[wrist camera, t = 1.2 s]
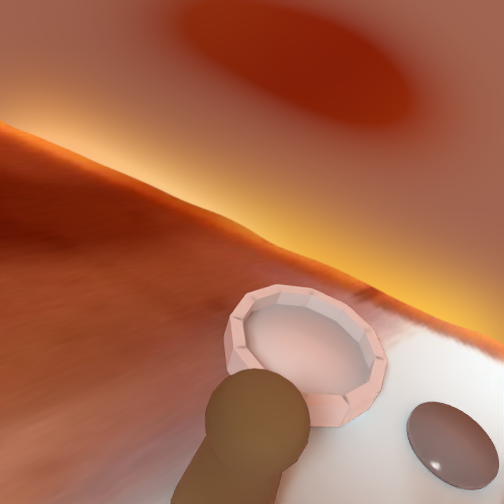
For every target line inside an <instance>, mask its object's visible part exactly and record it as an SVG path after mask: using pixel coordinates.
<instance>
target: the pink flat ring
mask: <svg viewBox="0 0 504 504" xmlns="http://www.w3.org/2000/svg"><path fill="white" fill-rule="evenodd" d="M224 348H225V358H226V368H227V371H228V372H229V374H230V375H232V374H234V373H236V372H239V371H241V370H246V369H252V368H257V369H266V370H270V371H272V372H275V373H278V374H280V375H282V376H283V377H285V378H286V379H288V380H289V381H291V382H292V383H293V384H294V385H295V387H296V388H297V389H298V390H299V391H300V392H301V394H302V396H303V398H304V400H305V402H306V404H307V406H308V409H309V415H310V420H311V425H310V427H335V428H339V427H341V426H342V425H344V424H346V423H347V422H349V421H351V420H352V419H354V418H355V417H357V416H359V415H360V414H362V413H363V412H365V411H367V410H368V409H369V407H370V406H371V404H372V403H373V401H374V399H375V398H376V396H377V394H378V393H379V391H380V390H381V386H382V382H383V378H384V373H385V369H386V365H387V358H386V356H385V353H384V351H383V349H382V347H381V344H380V342H379V340H378V337H377V335H376V333H375V331H374V329H373V328H372V327H371V326H370V325H369V324H367V323H366V322H365V321H364V320H363V319H362V318H361V317H360V316H359V315H358V314H357V313H356V312H354V311H353V310H352V309H351V308H350V307H349V306H348V305H346V304H345V303H343V302H341V301H339V300H336V299H334V298H332V297H330V296H328V295H325V294H323V293H321V292H319V291H317V290H315V289H311V288H306V287H297V286H288V285H279V284H277V285H276V284H275V285H272V286H269V287H266V288H262V289H259V290H256V291H253V292H250V293H247V294H246V295H245V296H244V298H243V299H242V300H241V302H240V303H239V304H238V306H237V307H236V308H235V310H234V311H233V312H232V314H231V315H230V318H229V321H228V324H227V328H226V331H225V334H224Z"/></svg>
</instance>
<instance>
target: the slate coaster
mask: <svg viewBox="0 0 504 504" xmlns="http://www.w3.org/2000/svg"><path fill="white" fill-rule="evenodd" d="M407 435H408V439H409V442H410V445H411V447H412V449H413V451H414V452H415V454H416V456H417V457H418V458H419V460H420V461H421V462H422V463H423V464H424V466H425V467H426V468H427V469H429V470H430V471H431V472H432V473H433V474H434V475H436V476H437V477H438V478H440V479H441V480H443V481H445V482H446V483H448V484H450V485H453V486H455V487H458V488H462V489H467V490H477V489H481V488H483V487H486V486H487V485H488V484H489V483H490V482H491V481H492V480H493V479H494V478H495V477H496V475H497V473H498V469H499V459H498V454H497V451H496V449H495V446H494V444H493V442H492V441H491V439H490V438H489V436H488V435H487V433H486V432H485V431H484V430H483V429H482V427H481V426H480V425H479V424H478V423H477V422H476V421H474V420H473V419H472V418H471V417H469V416H468V415H467V414H465V413H464V412H462V411H460V410H459V409H457V408H455V407H452V406H450V405H447V404H443V403H438V402H427V403H423V404H421V405H419V406H418V407H416V408H415V409H414V411H413V412H412V413H411V415H410V416H409V418H408V421H407Z"/></svg>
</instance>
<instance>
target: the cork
mask: <svg viewBox="0 0 504 504" xmlns="http://www.w3.org/2000/svg"><path fill="white" fill-rule="evenodd" d="M310 425H311V420H310V415H309V409H308V406H307V404H306V402H305V400H304V398H303V396H302V394H301V392H300V391H299V390H298V389H297V388H296V387H295V385H294V384H293V383H292V382H291V381H289V380H288V379H286V378H285V377H283V376H282V375H280V374H278V373H275V372H272V371H270V370H266V369H257V368H252V369H246V370H241V371H239V372H236V373H234V374H232V375H230V376H228V377H226V378H225V379H224V380H223V381H222V382H221V383H220V384H219V385H218V386H217V388H216V389H215V390H214V391H213V393H212V395H211V398H210V400H209V403H208V405H207V409H206V413H205V429H206V437H205V438H204V440H203V442H202V444H201V445H200V447H199V449H198V450H197V452H196V454H195V456H194V457H193V459H192V461H191V462H190V464H189V466H188V468H187V469H186V471H185V473H184V474H183V476H182V478H181V480H180V481H179V483H178V485H177V487H176V489H175V491H174V494H173V496H172V499H171V504H274V502H275V498H276V494H277V490H278V487H279V483H280V479H281V475H282V472H283V471H284V470H286V469H287V468H288V467H290V466H291V465H293V464H294V463H295V462H296V461H297V460H298V458H299V457H300V455H301V453H302V452H303V450H304V448H305V447H306V445H307V443H308V438H309V432H310Z"/></svg>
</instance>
